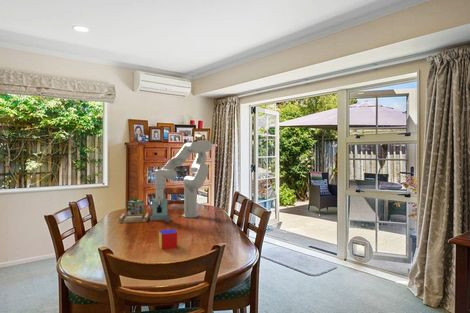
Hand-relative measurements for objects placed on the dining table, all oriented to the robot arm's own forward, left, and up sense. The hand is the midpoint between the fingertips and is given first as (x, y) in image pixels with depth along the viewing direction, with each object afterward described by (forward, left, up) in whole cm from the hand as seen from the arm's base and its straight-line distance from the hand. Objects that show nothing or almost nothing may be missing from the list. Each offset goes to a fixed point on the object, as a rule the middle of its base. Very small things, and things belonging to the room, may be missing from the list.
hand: (159, 212), depth 224 cm
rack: (-2, -17, -6) cm, 19 cm away
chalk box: (-22, -19, -7) cm, 30 cm away
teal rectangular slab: (0, 0, -5) cm, 5 cm away
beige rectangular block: (+2, -17, -5) cm, 18 cm away
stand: (0, +1, -6) cm, 6 cm away
